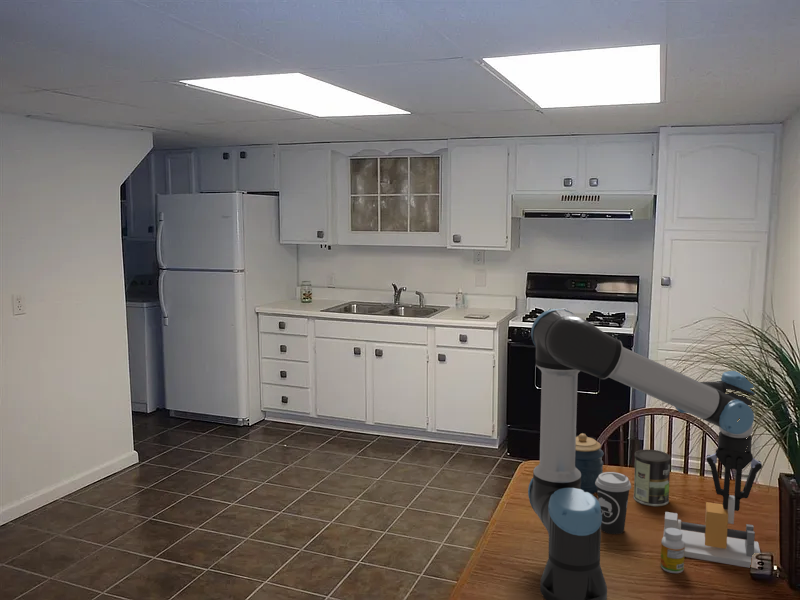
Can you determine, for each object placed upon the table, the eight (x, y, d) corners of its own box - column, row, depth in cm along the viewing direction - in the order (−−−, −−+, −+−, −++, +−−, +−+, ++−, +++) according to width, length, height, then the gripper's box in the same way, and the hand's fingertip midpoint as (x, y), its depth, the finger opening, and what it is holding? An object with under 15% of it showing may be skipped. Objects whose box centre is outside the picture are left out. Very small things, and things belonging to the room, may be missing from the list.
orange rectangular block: (726, 548, 175) (728, 514, 173) (704, 545, 177) (706, 511, 175) (725, 538, 180) (727, 504, 179) (704, 534, 182) (706, 502, 181)
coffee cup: (632, 538, 186) (633, 485, 184) (595, 535, 188) (596, 483, 186) (627, 522, 195) (629, 472, 193) (592, 519, 197) (594, 469, 195)
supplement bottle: (660, 560, 174) (662, 524, 173) (683, 564, 172) (685, 528, 171) (660, 571, 169) (661, 534, 168) (683, 575, 167) (685, 538, 166)
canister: (554, 480, 225) (555, 428, 222) (591, 477, 227) (592, 425, 225) (571, 497, 212) (572, 442, 210) (610, 493, 215) (611, 439, 212)
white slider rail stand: (762, 569, 169) (763, 540, 168) (662, 552, 178) (663, 524, 177) (757, 547, 180) (759, 519, 179) (664, 532, 189) (665, 505, 188)
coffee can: (671, 496, 212) (673, 452, 210) (665, 509, 203) (667, 463, 201) (637, 489, 217) (638, 446, 215) (629, 501, 208) (631, 457, 206)
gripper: (763, 431, 174) (757, 519, 177) (706, 425, 179) (702, 511, 182) (765, 440, 167) (759, 532, 170) (707, 434, 172) (702, 523, 175)
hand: (730, 521), depth 176 cm, fingers closed
